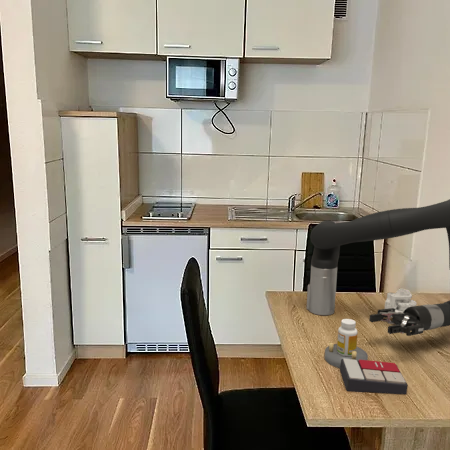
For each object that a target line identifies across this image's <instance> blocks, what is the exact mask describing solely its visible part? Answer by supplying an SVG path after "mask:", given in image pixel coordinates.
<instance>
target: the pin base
mask: <svg viewBox="0 0 450 450" xmlns="http://www.w3.org/2000/svg"><path fill="white" fill-rule="evenodd" d="M368 357H369V355H368V353H367V351H365V350H364V349H363V348H361V347H358V346H357V347H356V351H352V356H351V357H346V356H342V355H340V354H339V353H338V352H337V343H335V344H334V342H331V341H330V342H329V345H328V346H326V348H325V349H324V360H325V362H327V364H329V365H330V366H332V367H334V368H336V369H340V366H341V359H353V360H358V361H359V360H368V359H369V358H368Z"/></svg>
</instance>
